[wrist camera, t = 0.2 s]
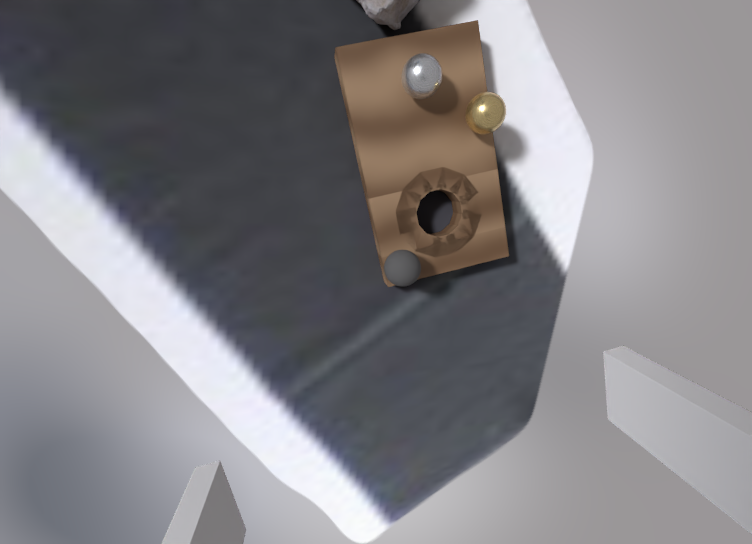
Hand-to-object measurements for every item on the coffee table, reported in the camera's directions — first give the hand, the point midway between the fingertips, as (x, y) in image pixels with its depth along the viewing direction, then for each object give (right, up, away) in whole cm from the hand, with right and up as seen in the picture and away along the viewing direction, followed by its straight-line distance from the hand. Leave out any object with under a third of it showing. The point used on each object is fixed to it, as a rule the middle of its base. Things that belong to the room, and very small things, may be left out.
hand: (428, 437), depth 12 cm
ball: (+2, +22, +20) cm, 30 cm away
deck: (+3, +16, +26) cm, 31 cm away
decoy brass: (+8, +20, +21) cm, 30 cm away
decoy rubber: (+1, +6, +23) cm, 24 cm away
